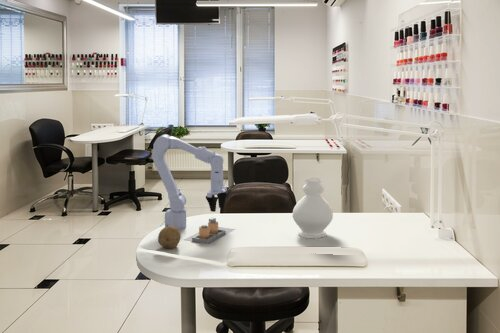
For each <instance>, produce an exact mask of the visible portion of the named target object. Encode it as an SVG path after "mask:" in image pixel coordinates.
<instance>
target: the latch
mask: <svg viewBox="0 0 500 333" xmlns="http://www.w3.org/2000/svg"><path fill="white" fill-rule="evenodd" d="M210 221H216V222H217V218H216V217H211V218H208V222H210Z"/></svg>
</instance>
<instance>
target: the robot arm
mask: <svg viewBox="0 0 500 333" xmlns="http://www.w3.org/2000/svg"><path fill="white" fill-rule="evenodd" d="M169 148H170V149H180V150H182V151H185V152H187V153H190V154H191V155H192V154H193V155H194V158H195V159H197V160H199V161H201V162H203V163H206V164H209V165H210V167H211V168H210V190H209V191H208V192H206V196H205V200H206V201H207V203H208V206H209V209H210V212H215V213H216V210H217V202H218V208H220V209H224V208H225V204H226V200H227V198H228V195H229V192H228V191H227V190H228V187H226V186H224V165H223V164H224V160H225V159H224V157H223V155H221V154H220V153H219V152H216V151H211V150H209V149H207V147H206V146H198V147H196V146H194V145H192V144H190V143H188V142H186V141H184V140H182V139H180V138H177V137H175V136H173V135H169V134H166V133H164V134H161V135H160V136H158V137H157V138H156V139H155V141H154V142H153V149H152V153H151V154H152V155H151V158H152V160H153V163H154V165H155V167H156V171H157V172H158V174H159V176H160V179H161V181H162V183H163V186H164V188H165V190H166V192H167V197H168V200H169V208H170V209H167V210H166V211H165V213H164V228H165V227H167V226H174V227H176V228H177V229H178V230H182V229H186V228H187V209H186V207H185V205H186V203H187V198H186V196H185V195H184V194H182V192H181V190H180V189H179V188H178V186H177V184H176V182H175V179H174V176H173V175H172V172H171V170H170V168H169V166H168V163H167V161H166V158H165V156H166V153H167V151H168V149H169Z"/></svg>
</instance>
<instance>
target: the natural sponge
mask: <svg viewBox="0 0 500 333" xmlns="http://www.w3.org/2000/svg"><path fill="white" fill-rule="evenodd" d="M180 240H181V232H180V229H177V228H176V227H174V226H167V227H165V226H164V227H163V228H162V229H161V230H160V232H159V233H158V236H157V242H158V244H159V245H160V246H161V247H163V248H165V249H168V250H169V249H171V250H172V249H175V248H176V247H178V245H179V242H180Z"/></svg>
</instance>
